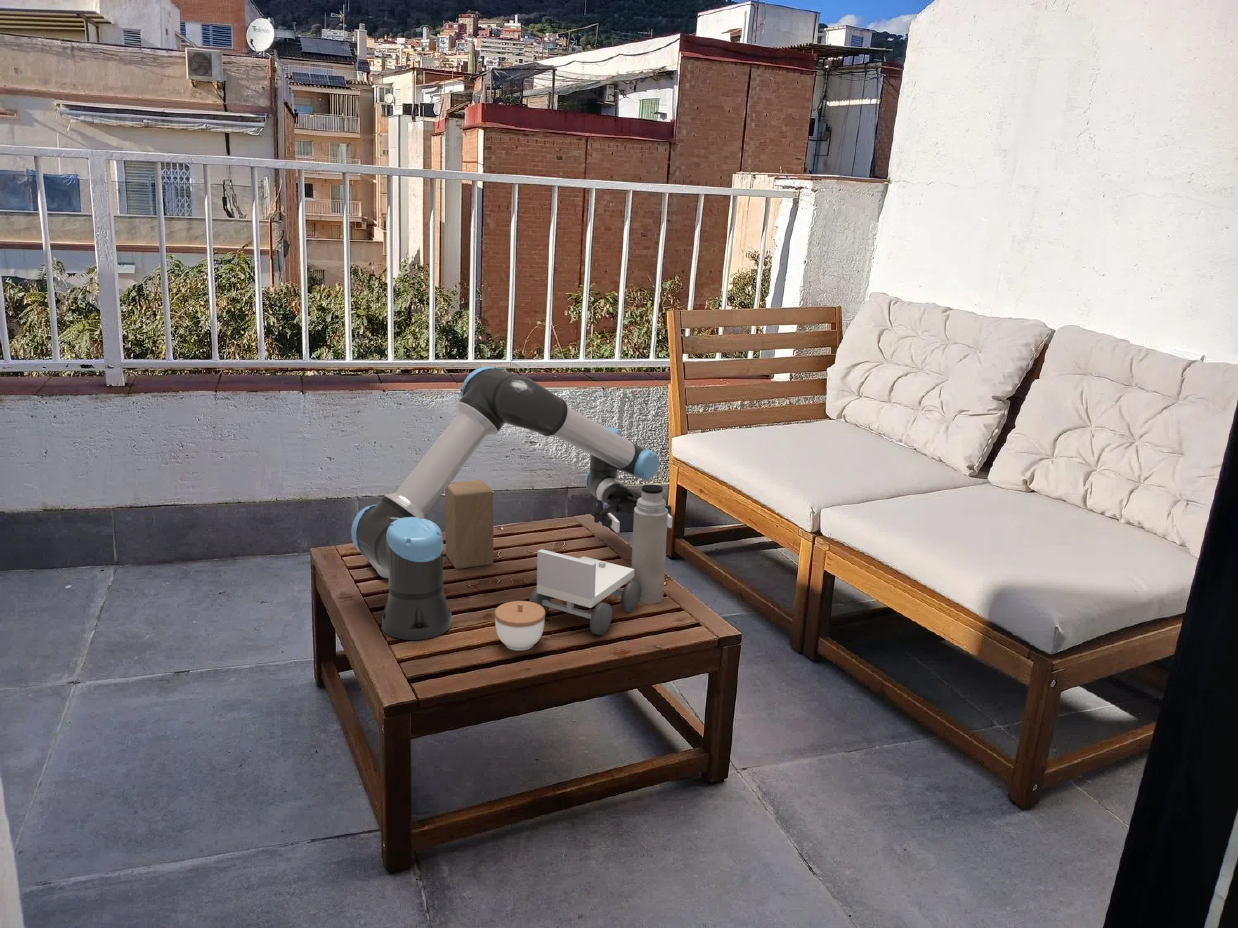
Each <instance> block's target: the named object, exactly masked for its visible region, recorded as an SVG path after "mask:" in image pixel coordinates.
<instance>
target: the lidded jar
mask: <svg viewBox="0 0 1238 928" xmlns="http://www.w3.org/2000/svg"><path fill="white" fill-rule="evenodd" d="M545 618H546V614H545V609H544V608H543V607H542V606H541V605H539V604H536V603H533V602H529V601H527V600H514V601H512V600H511V601H508V602H505V603H502V604H500V605H498V606H497V607H496V608H495V610H494V619H495V620H494V622H495V623H494V624H495V631H496V634H497V636H498V638H499V641H501V642H502V643H503V644H504V645H505V647H506V648H507V649H508V650H511V651H515V652H516V651H518V652H520V651H528V650H530V649H532V648H533V647H534V646H535V644H537V643H538V642H539V640H540V639H541V638H542V636H543V633H544V632H543V631H544V629H545V623H546V622H545Z"/></svg>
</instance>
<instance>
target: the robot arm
mask: <svg viewBox="0 0 1238 928" xmlns="http://www.w3.org/2000/svg"><path fill="white" fill-rule="evenodd" d="M461 390H462V392H461V393H460V396H461V399H460V400H459V401H458V402H457V414H456V416H454V417H453V419H452V420H451V422H450V423H449V424H448V425H447V426H446V428H445V429H444V430H443V432H442V433H441V434H440V436H439V437H438V438H437V439H436V440H435V442H434V443H433V444H432V446H431V447H430V448H429V449H428V451H427V452H426V453H425V455H423V457H422V458H421V460H420V461H419V462H418V463H417V465H416V466H415V467H414V468H413V469H412V471H411V472H410V473H409V475H408V476H407V477H406V479H404V481H403V482H402V483H401V485H400V486H399V487H398V489H397V490H395V492H394V493H389V494H384V495H383V497H382V498H381V499H380V500H379V501H378V503H377V504H372V505H369V506H368V505H367V506H365V507H363V508H362V509H361V510H359V512H358V513H357V514H356V516H355V517H354V519H353V521H352V524H351V525H352V526H351V530H350V534H351V541H352V544H353V546H354V547H355V549H356V550H357V551H358V552H359V553H360V554H361V555H362V556H364V557H365V558H366V559H367V560H368V561H369V560H372V561H373V562H375V563H377V564H378V565H380V566H381V567H383V568H384V569H386V570H387V571H388V573H389V578H388V596H387V599H386V603H385V606H384V609H383V613H382V616H381V629H382V630H383V632H384V633H385V634H386V635H388V636H389V637H393V638H395V639H400V640H404V641H405V640H406V641H421V640H427V639H432V638H435V637H439V636H441V635H442V634H445V633H446V632H447V631H449V630H450V628H451V627H452V619H453V618H452V610H451V609H450V607H449V605H448V602H447V598H446V595H445V593H444V551H443V550H444V541H443V533H442V530H441V528H440V526H438V525H437V523H435V522H433V520H429V519H427V518H426V516H427V514H428V513H429V511H430V510H431V509H432V507H434V505H435V504H436V502H438V500H439V498H440V497H441V496H442V495H443V493H445V489H446V488H447V487H448V485H449V484H450V483H453V481H454V480H455V478H456V477H457V476H458V474H459V473H460V471H461V470H462V469H463V468H464V466H465V464H466V463H467V462H468V461H469V460H470V459H471V457H472V456H473V455H474V453H475V452H476V451H477V450H478V449H479V447H480V445H481V444H482V443H483V442H484V440H485V439H486V438H487V437H488V436H492V435H497V434H498V433H499V431H500V430H501V429H502V428H503V426H505V424H507V425H510V426H513V427H517V428H522V429H526V430H529V431H533V432H535V433H538V434H540V435H542V436H544V437H556V438H558V439H560V440H561V441H564V442H565V443H567V444H570V445H572V446H573V447H576V448H577V449H579V450H581V451H583V452H585V453H588V454H589V459H590V460H589V461H590V462H589V470H588V471H587V472H586V475H585V477H584V484H585V487H586V489H587V490H588V491H589V493H590V495H592V496H593V497H595V498H596V499H597V500H596V508H595V511H594V516H593V517H594V519H593V523H596V524H598V523H600V522H601V526H602V527H609V528H611V529H612V530H613V531H614V532H615V533H616V534H620V527H621V526H620V521H619V520H618V518H616V517H617V516H621V515H624V514H626V513H627V514H631V513H633V514H634V508H635V507H636V506H637V501H638V499H639V498H636V497H635V496H634V494H633V493H632V492H631V490H630V489H629V488H627V487H626V485H624V483H623V482H621V481H620V480H619V479H618V473H619V472H618V471H621V472H622V473H625V474H628V475H631V476H633V477H635V478H637V479H642V480H646V481H647V480H650V479H652V478H654V477H655V476H656V474H657V473H658V471H659V468H660V458H659V456H658V454H657V453H656V452H654V451H651V450H650V449H649V448H644V447H642V446H639V445H638V444H637V443H635V442H633V441H630V440H628V439H627V438H625V437H623V436H621V434H620V431H619V430H618V429H617V428H616V427H615V428H614V427H611V426H604V425H602V424H600V423H598V422H596V421H595V420H592V419H590V418H589V417H587V416H585V415H583V414H581V413H579V412H578V411H576V410H574V409H572V408H571V407H569V405H568V403H567V402H566V400H565V399H563V398H562V397H559V396H558V395H556V394H555V393H553V392H551V391H550V390H548V389H547V388H546V387H544V386H542V385H541V384H539V383H537V381H534V380H533V379H531V378H529V377H527V376H524V375H519V374H516V373H513V372H511V371H506V370H505V369H502V368H500V367H493V366H492V367H491V366H483V367H480V368H476V369H474V370H473V371H472V372H470V373H469V374H468V375H467V377H466V378H465V379H464V381H463V383H462V386H461ZM665 508H667V510H668V520H667V528H668V529H672V528H673V516H672V506H671V505H669V504H666V506H665Z"/></svg>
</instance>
